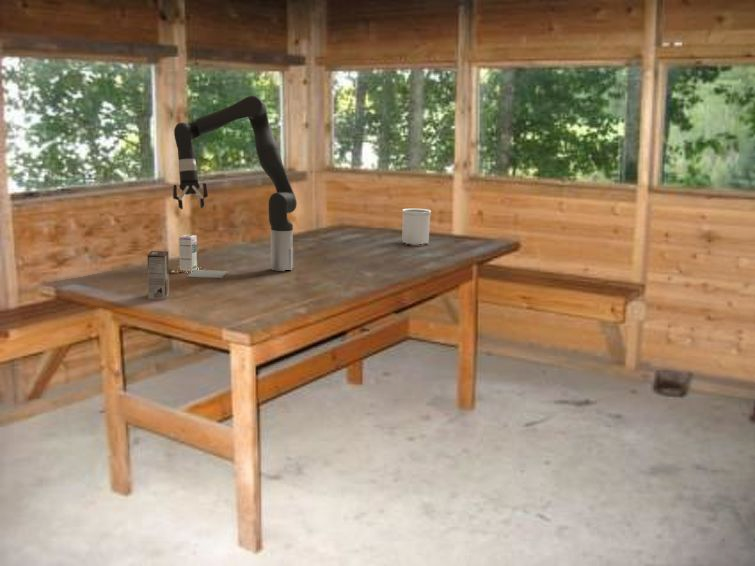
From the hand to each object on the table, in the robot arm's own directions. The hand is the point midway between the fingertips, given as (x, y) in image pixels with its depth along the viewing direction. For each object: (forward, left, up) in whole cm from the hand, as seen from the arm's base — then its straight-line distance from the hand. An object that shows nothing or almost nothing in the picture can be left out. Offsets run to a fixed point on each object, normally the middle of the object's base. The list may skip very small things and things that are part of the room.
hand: (191, 208), depth 371 cm
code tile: (-1, +10, -25) cm, 27 cm away
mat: (-11, +18, -25) cm, 33 cm away
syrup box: (-1, +10, -25) cm, 27 cm away
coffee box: (-3, +61, -25) cm, 66 cm away
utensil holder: (-97, -84, -25) cm, 131 cm away
